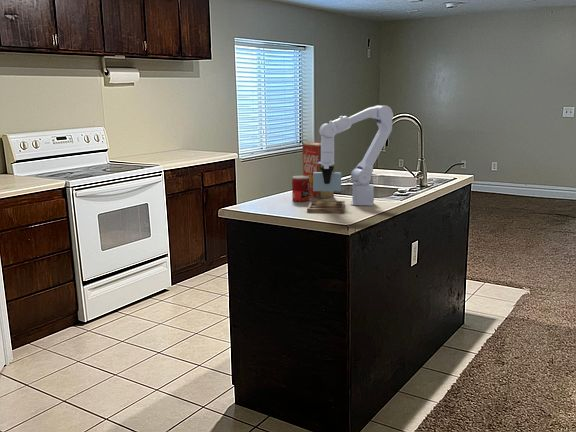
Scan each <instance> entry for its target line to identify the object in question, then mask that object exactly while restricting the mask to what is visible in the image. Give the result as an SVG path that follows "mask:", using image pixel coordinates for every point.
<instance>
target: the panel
mask: <svg viewBox="0 0 576 432" xmlns="http://www.w3.org/2000/svg"><path fill="white" fill-rule="evenodd" d="M313 191H334V192H342V172H338V171H337V172H332V174H331V179H330V184H325V183H324V178H323V174H322V172H313Z"/></svg>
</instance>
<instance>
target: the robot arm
mask: <svg viewBox="0 0 576 432" xmlns="http://www.w3.org/2000/svg"><path fill="white" fill-rule="evenodd" d="M393 118H394V113H393V110H392V107H390V106H388V105H380V104H379V105H378V104H377V105H374V106H369V107H367V108H365V109H363V110H362V111H358V112H357V113H355V114H353V115H350V116H349V117H348V116H347V115H344V116H343V115H340V116H339V117H338V118H337V119H334V120H329V121H328V123H322V124H321V126H320V127H319V129H318V133H319V135H320V143H321V162H318V164H321V165H324V166H323V167H321V168H320V169H321V171H322V174H323V178H324V183H325V184H330V179H331V174H332V171H333V169H335V166H330V165H333V164H334V165H335V136H336V135H337V134H340V133H343V132H345V131H346V130H349V129H350V128H351V127H352V125H354V124H356V123H358V122H361V121H364V120H367V119H373V120H374V121H375V123H376V125H377V127H378V130H377V132H376V134H375V136H374V137H373V139H372V141H371V144H370V145H369V147H368V148H367V150H366V153H365V154H364V156H363V158H362V160H361V161H360V162H359V163H358V164H357V165H356V167H355V168H354V169H352V170H351V174H350V178H351V179H352V180H353V181H352V195H351V196H352V201H351V203H350V204H351V206H374V201H375V197H374V188H375V187H374V186H375V185H374V184H372V183H370V182H371V180H372V174H373V172H374V165H375V163H376V161H377V159H378V158H379V156H380V153H381V151H382V149H383V148H384V145H386V142H387V140H388V138H389V136H390V134H391V133H392V131H393Z"/></svg>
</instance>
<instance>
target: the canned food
mask: <svg viewBox="0 0 576 432" xmlns="http://www.w3.org/2000/svg"><path fill="white" fill-rule="evenodd" d="M291 178H292V179H291V183H292V187H291V188H292V189H291V191H292V193H291V194H292V201H293V202H295V203H297V202H299V203H305V202H308V201H309V202H310V197H309V176H303V175H293V176H292V177H291Z"/></svg>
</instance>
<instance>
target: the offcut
mask: <svg viewBox="0 0 576 432" xmlns="http://www.w3.org/2000/svg"><path fill="white" fill-rule="evenodd" d="M317 201H318V202H316V206H336V202H323V201H324V200H317Z"/></svg>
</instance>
